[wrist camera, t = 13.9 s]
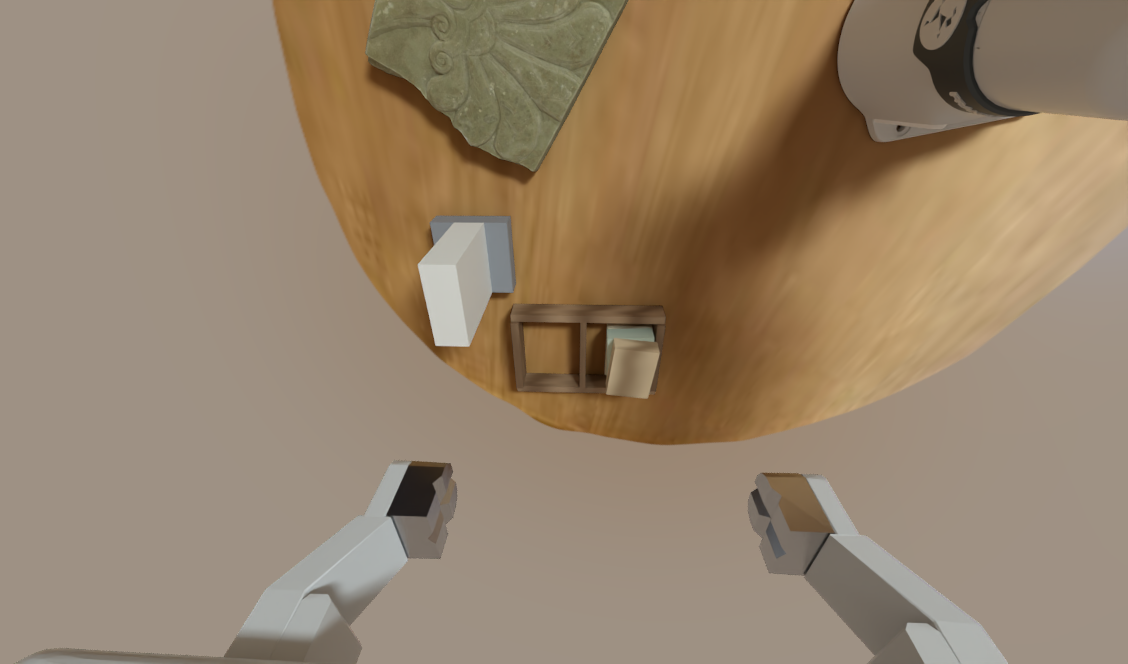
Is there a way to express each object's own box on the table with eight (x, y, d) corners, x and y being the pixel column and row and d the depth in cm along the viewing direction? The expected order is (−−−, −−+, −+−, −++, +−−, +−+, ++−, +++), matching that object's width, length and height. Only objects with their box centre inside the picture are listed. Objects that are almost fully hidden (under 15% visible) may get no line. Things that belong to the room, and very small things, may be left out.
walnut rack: (662, 305, 54) (666, 319, 52) (651, 381, 62) (655, 396, 59) (513, 303, 55) (509, 316, 52) (520, 378, 62) (517, 393, 59)
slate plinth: (510, 216, 49) (506, 222, 47) (515, 283, 54) (512, 292, 52) (436, 215, 49) (429, 222, 47) (448, 283, 54) (443, 291, 52)
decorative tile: (426, -164, 33) (410, -188, 30) (631, -5, 38) (634, -11, 35) (365, 73, 42) (348, 73, 39) (536, 177, 47) (532, 184, 44)
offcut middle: (652, 328, 54) (654, 338, 52) (648, 375, 58) (650, 386, 56) (606, 328, 55) (607, 338, 53) (606, 375, 59) (607, 386, 57)
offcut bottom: (650, 319, 56) (652, 329, 54) (644, 365, 61) (646, 375, 59) (607, 318, 56) (607, 328, 55) (604, 364, 61) (604, 374, 59)
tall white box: (484, 222, 47) (455, 264, 37) (492, 292, 52) (469, 346, 42) (453, 222, 47) (417, 264, 37) (465, 292, 52) (435, 345, 42)
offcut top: (657, 342, 52) (659, 353, 50) (645, 386, 57) (647, 398, 55) (614, 337, 52) (614, 348, 50) (605, 382, 57) (606, 394, 55)
